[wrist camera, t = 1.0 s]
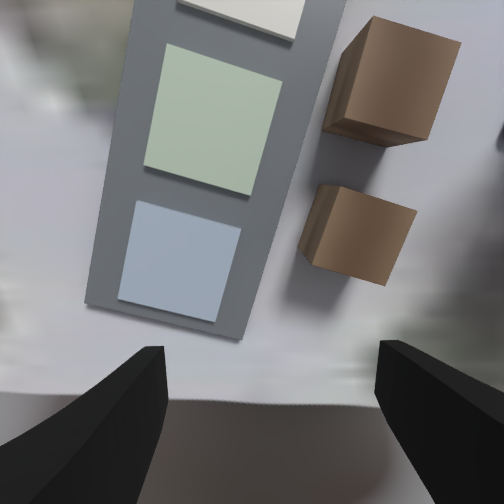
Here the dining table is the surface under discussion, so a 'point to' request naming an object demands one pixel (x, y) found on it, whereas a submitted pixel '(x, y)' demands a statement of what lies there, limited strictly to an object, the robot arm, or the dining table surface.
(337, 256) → the walnut cube
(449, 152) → the dining table surface
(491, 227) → the dining table surface
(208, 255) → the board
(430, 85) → the walnut cube
